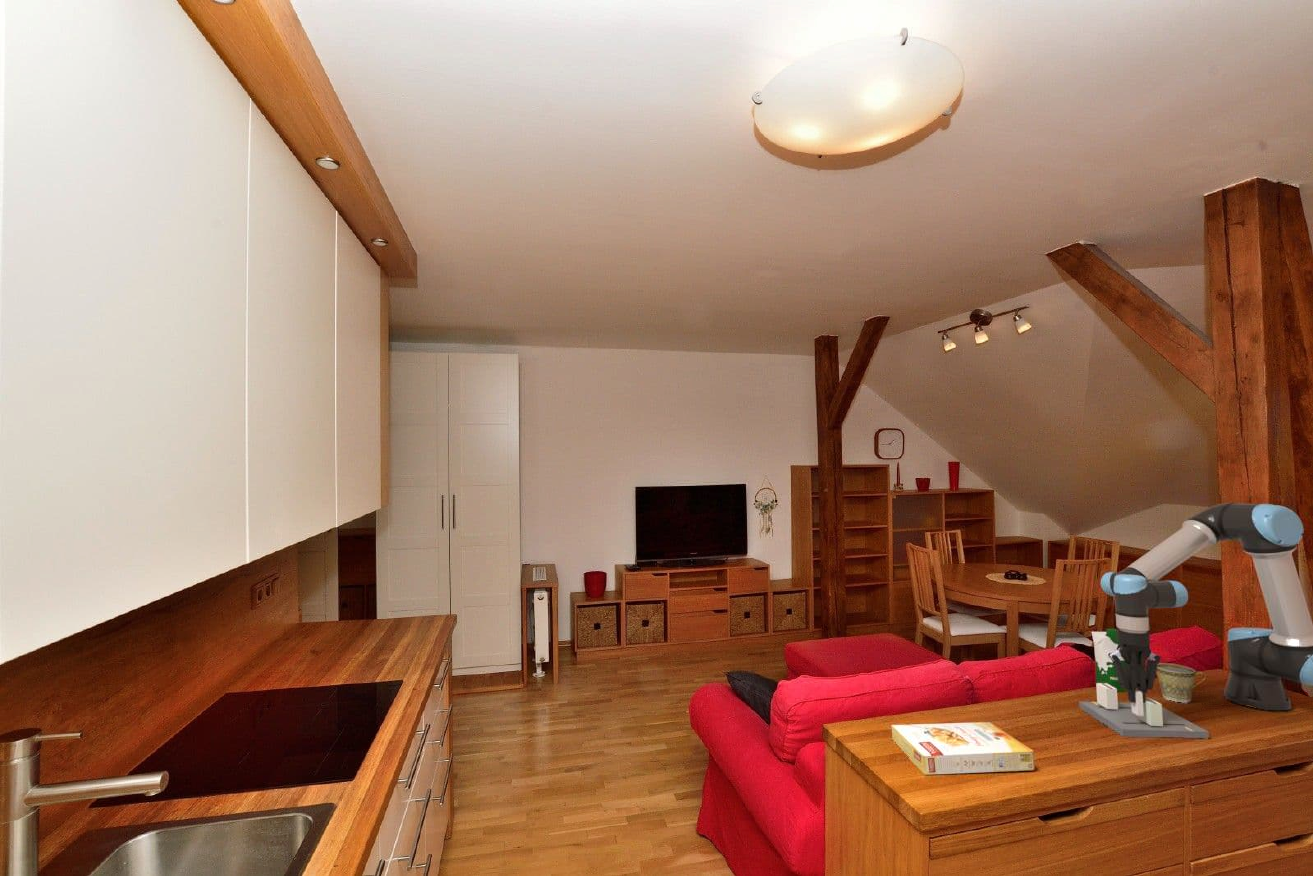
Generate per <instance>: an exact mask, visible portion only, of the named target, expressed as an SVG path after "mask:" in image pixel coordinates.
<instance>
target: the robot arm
mask: <svg viewBox="0 0 1313 876" xmlns="http://www.w3.org/2000/svg"><path fill="white" fill-rule="evenodd" d="M1304 531H1305V530H1304V525H1303V522H1302V520H1301V518H1300V517H1299V516H1298V514H1296V512H1295V511H1293V510H1292V509H1290V508H1288V507H1287V506H1283V505H1278V504H1276V505H1275V504H1271V503H1241V502H1225V503H1219V504H1216V505H1213V506H1211V507H1208V508H1206V509H1203V510H1201V511H1199V512H1197V513H1196V514H1194V515H1193V516H1191V517H1190V518H1188V519H1186V520H1185V521H1184V522H1183V523H1182V526H1181V528H1180V529H1179V530H1177V531H1176V532H1174V533H1173V534H1172V535H1170V536H1168V537H1167V538H1166V539H1164V540H1163V541H1162V542H1160V543H1159V544H1157V545H1156V546H1155V547H1153V548H1152V549H1151V550H1149V551H1148V552H1146V553H1145V554H1144V555H1142V556H1141V557H1139V558H1138V559H1136V560H1135V561H1133V562H1132V563H1131V564H1130V565H1128V566H1127V567H1125V568H1124V569H1122V570H1121V571H1119V572H1116V571H1113V572H1112V571H1109V572H1106V573H1105V574H1103V575H1102V577H1101V579H1100V587H1101V589H1102V591H1103V592H1104V593H1105V594H1106V595H1109V596H1110V597H1113V599H1114V609H1115V623H1116V624H1115V625H1116V629H1117V642H1118V647H1117V651H1116V652H1114V653H1109V654H1108V656H1109V657H1110V659H1111V660H1112V662H1113V665H1114V668H1115V672H1116V675H1117V678H1118V681H1119V684H1120V686H1121V687H1123V688H1125V689H1127V690H1128V692H1127V698H1128V699H1127V700H1128V701H1129V703H1131V706H1132V712H1133V713H1134V714H1136V715H1138V716H1144V712H1143V703H1145V702H1146V698H1147V697H1146V694H1147V693H1148V692H1149V690H1150V691H1152V690H1153V688H1154V685H1155V684H1154V683H1155V678H1156V676H1157V673H1156V669H1157V664H1159V663H1160V661H1161V660H1162V657H1161V656H1160V655H1157V654H1156V653H1154V652H1152V649H1151V648H1150V645H1151V637H1150V633H1149V632H1148V631H1150V623H1149V622H1150V621H1149V620H1150V619H1149V609H1174V608H1179V607H1180V608H1181V607H1184V606H1185V605H1187V603H1188V600H1189V592H1188V590H1187V588H1186V586H1184V584H1182V583H1181V582H1179V581H1177V580H1168V579H1167V580H1166V579H1165V580H1160V579H1162V578H1163V577H1164V576H1165V575H1167V574H1168V573H1170V572H1171V571H1172V570H1174V569H1175V568H1177V567H1178V566H1180V565H1181V564H1182V563H1184V562H1186V561H1187V560H1189V559H1190V558H1191V557H1192V556H1194V555H1195V554H1196V553H1198V552H1199V551H1201V550H1202V549H1204V548H1205V547H1213V546H1214V545H1216V544H1217V543H1219V542H1223V541H1224V542H1225V541H1235V542H1240V546H1241V548H1242V551H1243V552H1244V553H1246V554H1248V555H1249V556H1251V558H1252V562H1253V565H1254V568H1255V572H1256V574H1257V575H1256V576H1257V579H1258V582H1259V585H1260V589H1261V592H1262V596H1263V599H1264V602H1265V605H1266V609H1267V613H1268V615H1269V620H1270V622H1271V625H1272V629H1271V628H1263V627H1262V628H1261V627H1232V628H1230V629H1229V630H1228V632H1227V640H1226V641H1227V642H1226V643H1227V649H1228V651H1227V652H1228V662H1229V676H1228V678H1227V681H1226V685H1225V687H1224V689H1223V693H1224V696H1225V697H1224V698H1225V699H1226V700H1227V699H1228V700H1227V701H1229V700H1231V701H1233V702H1236V703H1238V704H1237V705H1239V704H1241V705H1240V706H1242V705H1249V706H1252V707H1256V708H1260V709H1266V710H1265V711H1267V710H1289V709H1291V710H1292V702H1291V699H1290V698H1289V695H1288V692H1287V690H1286V689H1285V686H1284V684H1283V682H1282V678H1283V679H1286V680H1290V681H1293V682H1296V683H1300V684H1303V685H1304V686H1311V687H1313V621H1312V617H1311V614H1310V611H1309V609H1308V608H1309V607H1308V605H1307V601H1306V597H1305V594H1304V592H1303V587H1302V584H1301V581H1300V578H1299V574H1298V571H1297V567H1296V564H1295V561H1294V557H1293V552H1294V551H1295V550H1297V548H1298V546H1297V545H1298V544H1299V543H1300V542H1301V540H1302V539H1303V534H1304ZM1120 656H1121V657H1122V658H1123V659H1124V664H1125V671H1124V668H1123V665H1122V662H1121V661H1120V660H1121V657H1120ZM1125 672H1126V674H1125ZM1145 697H1146V698H1145ZM1231 701H1230V702H1231ZM1233 702H1232V703H1233ZM1236 703H1235V704H1236ZM1260 709H1259V710H1260ZM1289 711H1290V710H1289Z"/></svg>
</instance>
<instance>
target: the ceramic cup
mask: <svg viewBox="0 0 1313 876" xmlns="http://www.w3.org/2000/svg"><path fill="white" fill-rule="evenodd" d="M1199 674H1201V675H1203V677H1202V679H1200V680H1198V681H1197V682H1196V683H1195V680H1196V679H1195V678H1196V676H1197V675H1199ZM1156 676H1157V680H1158V683H1159V686H1160V691H1161V694H1162V698H1163V699H1165V700H1167V701H1169V700H1172V701H1171V702H1173V701H1175V702H1174V703H1177V702H1181V703H1180V704H1189V703H1191V702H1192V696H1193V695H1192V694H1193V689H1194V688H1195V687H1197V685H1199V684H1201V683H1202V682H1204V681H1205V680H1206V674H1205V673H1204V672H1202V671H1200V670H1199V671H1198V670H1197V671H1196V670H1195V669H1194V668H1192V667H1189V666H1185V665H1181V664H1176V663H1166V662H1164V663H1163V662H1161V663H1160V662H1159V663H1158V664H1157V669H1156ZM1190 701H1191V702H1190ZM1188 702H1189V703H1188Z"/></svg>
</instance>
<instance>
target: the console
mask: <svg viewBox="0 0 1313 876" xmlns="http://www.w3.org/2000/svg"><path fill="white" fill-rule="evenodd" d="M1078 704H1079V706H1078V707H1079V709H1080V708H1081V710H1082V711H1083V710H1084V712H1085V713H1086V712H1087V713H1086V714H1088V715H1089V714H1090V716H1091V717H1092V718H1094V719H1096V720H1097V721H1098V720H1099V721H1098V722H1100V723H1101V724H1103V723H1104V724H1105V726H1106V725H1107V726H1108V727H1107V726H1106V727H1107V728H1109V729H1110V728H1111V730H1112V731H1113V730H1114V731H1113V732H1115V733H1116V732H1117V733H1116V734H1118V735H1119V734H1120V735H1119V736H1121V737H1125V738H1127V737H1129V738H1150V737H1185V738H1209V739H1210V734H1209V733H1210V732H1209V731H1208V730H1206V729H1204V728H1202V727H1200V726H1198V725H1196V724H1194V723H1193V722H1191V721H1189V720H1188V719H1186V718H1183V717H1182V716H1180V715H1178V714H1176V713H1174V712H1173V711H1170V710H1169V709H1167V708H1166V707H1163V706H1162V718H1163V726H1151V725H1149V724H1147V723H1146V722H1144V721H1142V720H1141V719H1139V716H1138V715H1136V714H1134V713H1133V712H1132V706H1131V702H1119V701H1118V709H1106V708H1105V707H1103V706H1102V705H1100V704H1098V703H1097V701H1081V700H1080V701H1078ZM1104 724H1103V725H1104Z"/></svg>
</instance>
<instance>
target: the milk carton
mask: <svg viewBox="0 0 1313 876" xmlns="http://www.w3.org/2000/svg"><path fill="white" fill-rule="evenodd" d="M1117 629H1118V628H1106V629H1105V630H1106V631H1091V636H1092V640H1093V645H1094V647H1093V648H1094V665H1095V684H1096V683H1107V684H1109V685H1111V686H1112V687H1114V688H1116V689H1117V691H1128V690H1127V689H1125V688H1123V687H1121V686H1120V684H1119V681H1118V678H1117V675H1116V672H1115V668H1114V665H1113V662H1112V660H1111V659H1110V657H1109V656H1108V654H1109V653H1114V652H1116V651H1117V647H1118V642H1117ZM1120 657H1121V656H1120ZM1120 661H1121V662H1122V665H1123V668H1124V671H1125V664H1124V659H1123V658H1122V657H1121V660H1120ZM1125 674H1126V672H1125Z"/></svg>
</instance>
